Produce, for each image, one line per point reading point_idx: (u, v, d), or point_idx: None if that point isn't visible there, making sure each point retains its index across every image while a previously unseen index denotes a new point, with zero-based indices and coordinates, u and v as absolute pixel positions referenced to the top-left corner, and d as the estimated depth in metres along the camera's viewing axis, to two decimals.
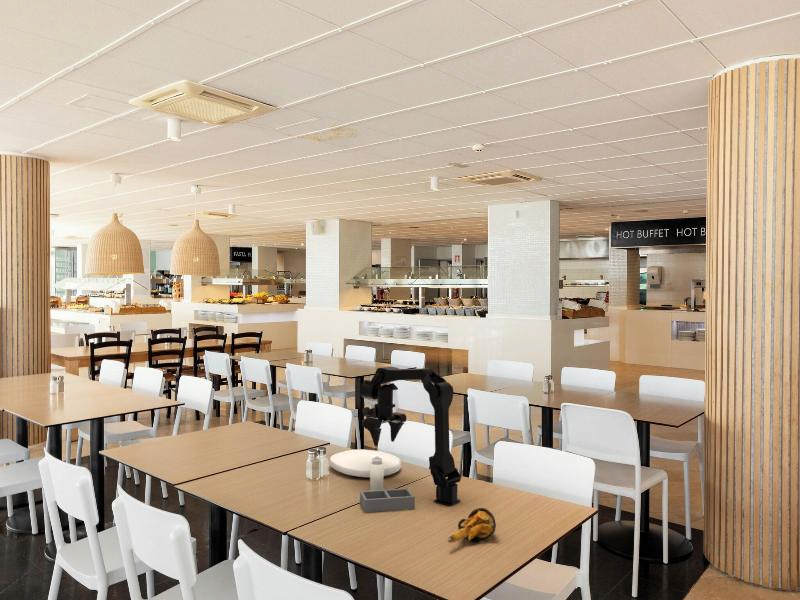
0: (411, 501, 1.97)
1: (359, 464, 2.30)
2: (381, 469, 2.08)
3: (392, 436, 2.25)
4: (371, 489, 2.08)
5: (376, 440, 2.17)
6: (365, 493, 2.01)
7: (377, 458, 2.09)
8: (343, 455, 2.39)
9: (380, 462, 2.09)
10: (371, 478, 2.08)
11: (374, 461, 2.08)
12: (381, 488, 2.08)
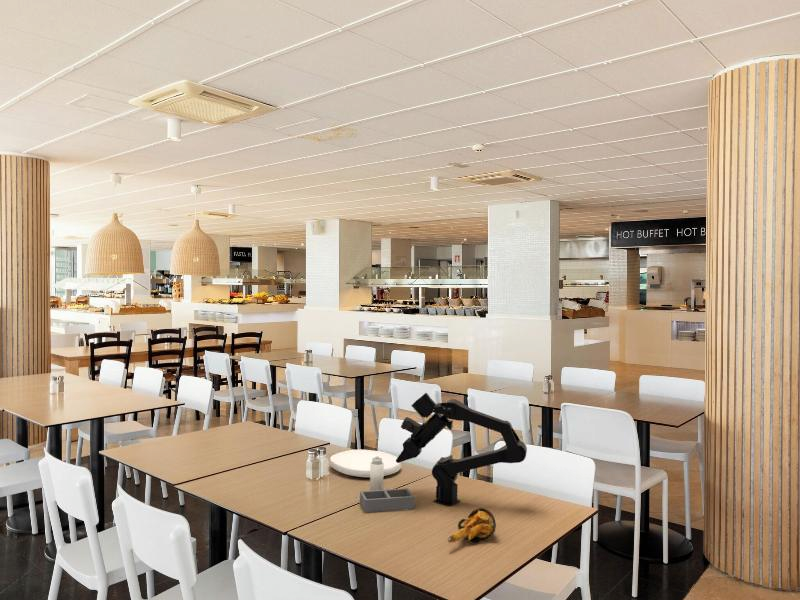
0: (411, 501, 1.97)
1: (359, 464, 2.30)
2: (381, 469, 2.08)
3: None
4: (371, 489, 2.08)
5: (402, 460, 2.02)
6: (365, 493, 2.01)
7: (377, 458, 2.09)
8: (343, 455, 2.39)
9: (380, 462, 2.09)
10: (371, 478, 2.08)
11: (374, 461, 2.08)
12: (381, 488, 2.08)
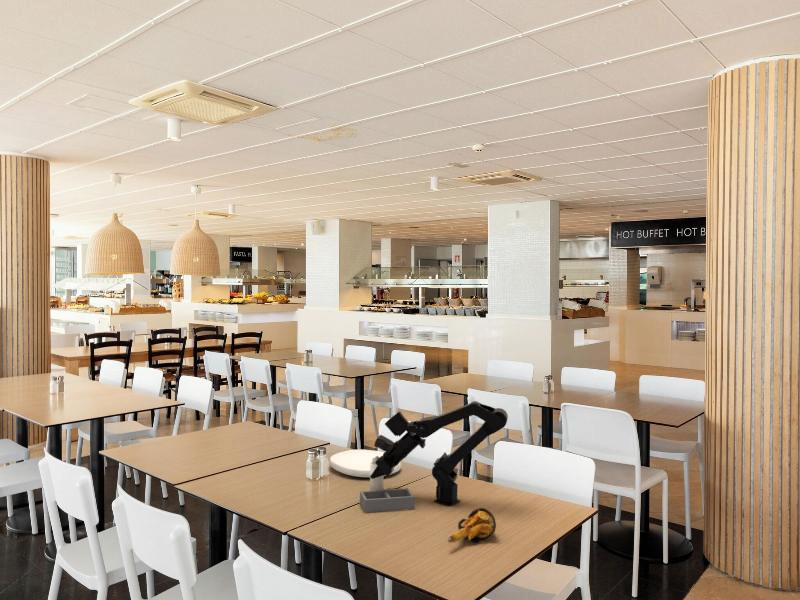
0: (411, 501, 1.97)
1: (359, 464, 2.30)
2: None
3: None
4: (371, 489, 2.08)
5: (377, 476, 2.06)
6: (365, 493, 2.01)
7: (377, 458, 2.09)
8: (343, 455, 2.39)
9: None
10: None
11: (374, 461, 2.08)
12: (381, 488, 2.08)
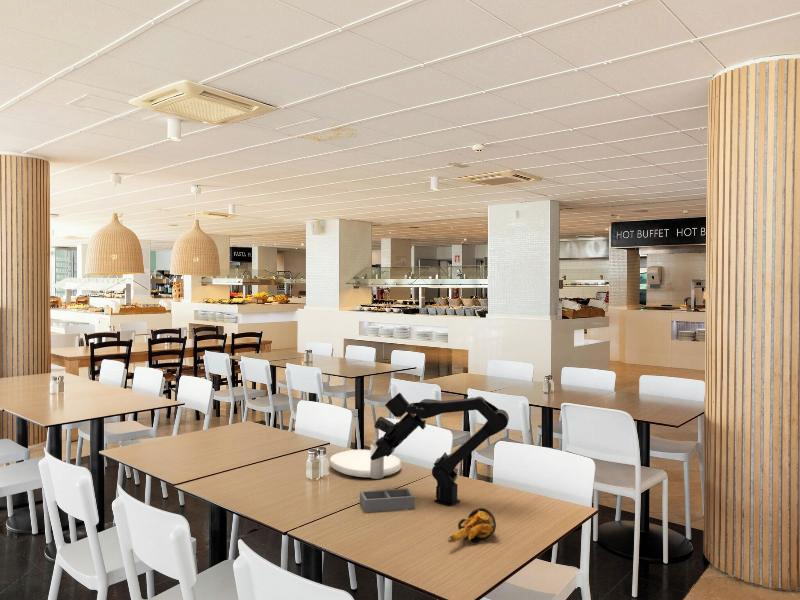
0: (411, 501, 1.97)
1: (359, 464, 2.30)
2: None
3: None
4: (371, 470, 2.08)
5: (377, 457, 2.06)
6: (365, 493, 2.01)
7: (377, 439, 2.09)
8: (343, 455, 2.39)
9: None
10: None
11: (374, 442, 2.08)
12: (381, 469, 2.08)
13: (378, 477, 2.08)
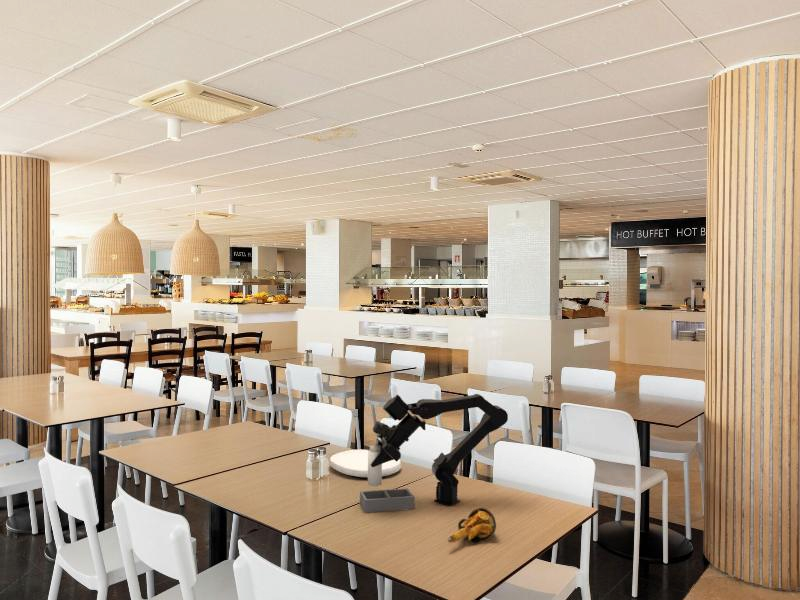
0: (411, 501, 1.97)
1: (359, 464, 2.30)
2: None
3: None
4: (371, 478, 1.99)
5: (378, 463, 1.97)
6: (365, 493, 2.01)
7: (376, 445, 2.00)
8: (343, 455, 2.39)
9: (379, 449, 2.00)
10: (371, 466, 1.98)
11: (373, 448, 1.99)
12: (381, 476, 2.00)
13: (378, 484, 1.99)
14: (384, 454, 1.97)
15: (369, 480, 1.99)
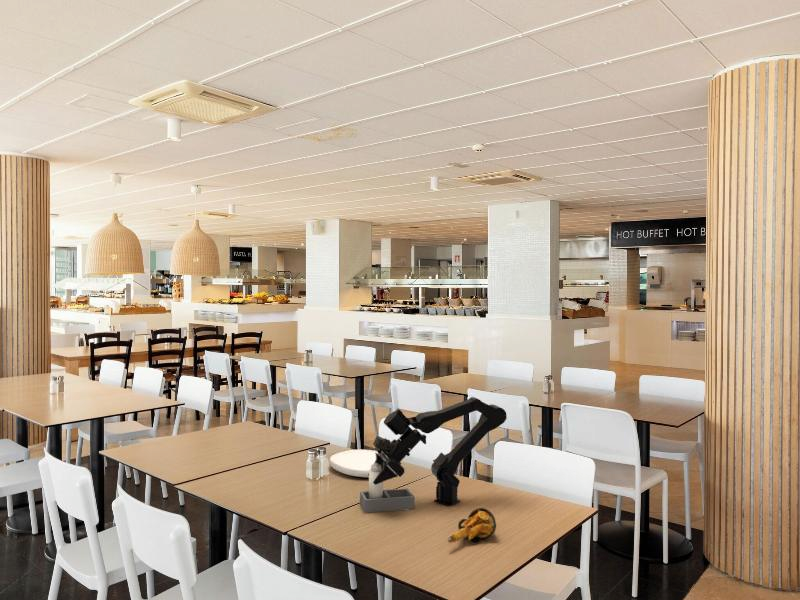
0: (411, 501, 1.97)
1: (359, 464, 2.30)
2: None
3: None
4: (372, 498, 1.96)
5: (381, 480, 1.93)
6: (365, 493, 2.01)
7: (377, 465, 1.97)
8: (343, 455, 2.39)
9: (380, 469, 1.97)
10: (373, 487, 1.96)
11: (375, 468, 1.96)
12: (382, 496, 1.97)
13: None
14: (387, 471, 1.93)
15: None
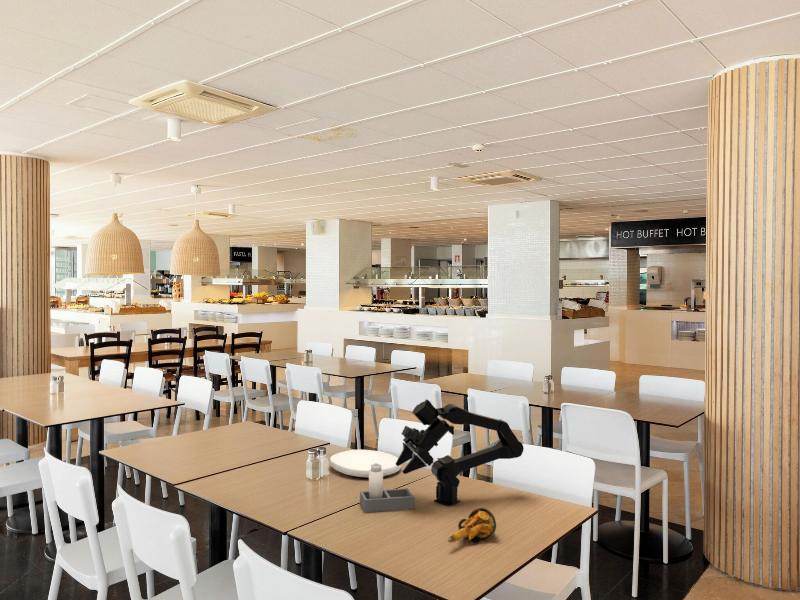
0: (411, 501, 1.97)
1: (359, 464, 2.30)
2: (382, 476, 1.97)
3: (400, 461, 2.05)
4: (372, 498, 1.96)
5: (411, 470, 1.95)
6: (365, 493, 2.01)
7: (377, 465, 1.97)
8: (343, 455, 2.39)
9: (380, 469, 1.97)
10: (373, 486, 1.96)
11: (375, 468, 1.96)
12: (382, 496, 1.97)
13: None
14: (416, 461, 1.95)
15: None
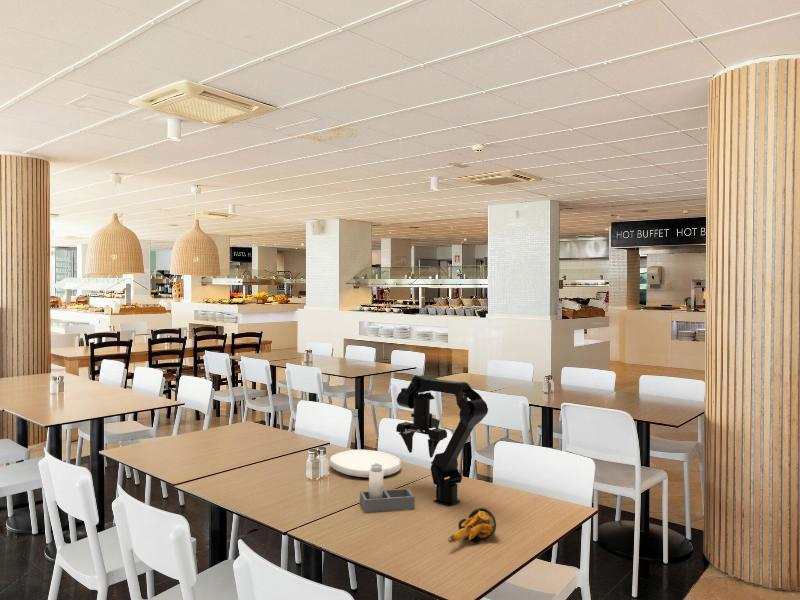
0: (411, 501, 1.97)
1: (359, 464, 2.30)
2: (382, 476, 1.97)
3: None
4: (372, 498, 1.96)
5: None
6: (365, 493, 2.01)
7: (377, 465, 1.97)
8: (343, 455, 2.39)
9: (381, 469, 1.97)
10: (373, 486, 1.96)
11: (375, 468, 1.96)
12: (382, 496, 1.97)
13: None
14: None
15: None
